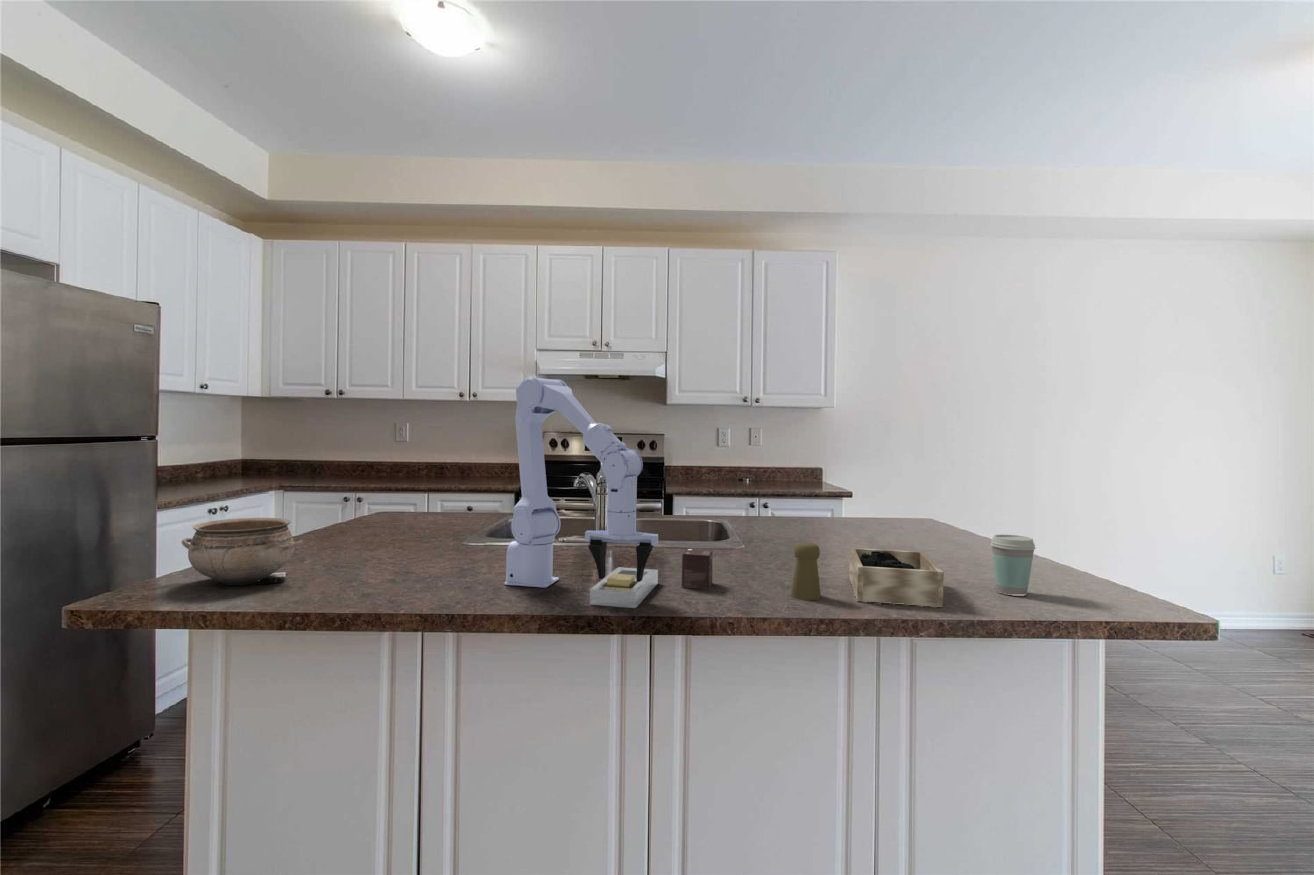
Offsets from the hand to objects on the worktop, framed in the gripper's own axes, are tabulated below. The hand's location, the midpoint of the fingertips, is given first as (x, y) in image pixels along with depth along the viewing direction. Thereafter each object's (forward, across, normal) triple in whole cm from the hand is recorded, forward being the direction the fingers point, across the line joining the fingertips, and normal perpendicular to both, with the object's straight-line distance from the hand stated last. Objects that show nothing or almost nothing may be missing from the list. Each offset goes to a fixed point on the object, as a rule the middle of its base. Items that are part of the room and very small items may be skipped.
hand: (620, 579), depth 131 cm
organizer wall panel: (+4, +46, +22) cm, 51 cm away
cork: (+4, +36, +12) cm, 38 cm away
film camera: (+4, +54, +20) cm, 57 cm away
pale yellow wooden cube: (+4, 0, 0) cm, 4 cm away
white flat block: (+4, 0, +4) cm, 6 cm away
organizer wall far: (+4, +54, +32) cm, 63 cm away
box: (+4, +13, +16) cm, 21 cm away
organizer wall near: (+4, +54, +12) cm, 55 cm away
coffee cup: (+4, +79, +28) cm, 84 cm away
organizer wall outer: (+4, +62, +22) cm, 65 cm away
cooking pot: (+4, -80, -8) cm, 81 cm away
